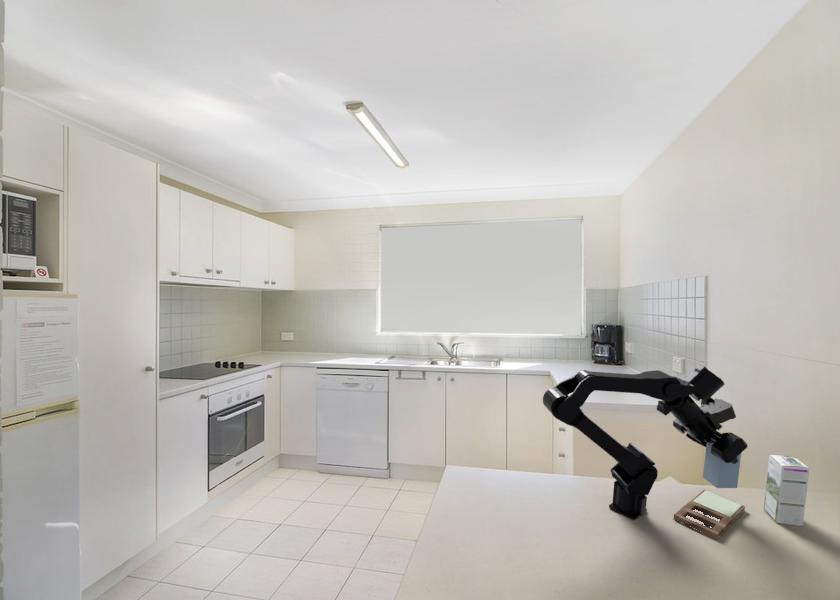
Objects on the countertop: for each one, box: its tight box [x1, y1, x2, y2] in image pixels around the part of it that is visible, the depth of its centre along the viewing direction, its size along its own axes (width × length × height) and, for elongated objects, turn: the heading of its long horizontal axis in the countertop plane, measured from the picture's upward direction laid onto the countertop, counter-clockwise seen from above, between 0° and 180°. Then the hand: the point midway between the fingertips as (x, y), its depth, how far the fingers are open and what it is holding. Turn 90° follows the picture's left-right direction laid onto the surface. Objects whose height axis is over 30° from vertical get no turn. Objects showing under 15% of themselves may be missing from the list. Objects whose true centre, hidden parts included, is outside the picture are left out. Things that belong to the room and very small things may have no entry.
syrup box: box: [763, 454, 810, 527], centre depth 106 cm, size 6×6×14 cm
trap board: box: [673, 489, 746, 540], centre depth 107 cm, size 9×18×1 cm, turn 128°
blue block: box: [702, 443, 742, 489], centre depth 108 cm, size 5×5×9 cm
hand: (727, 457), depth 108 cm, fingers closed on blue block, 5 cm apart
